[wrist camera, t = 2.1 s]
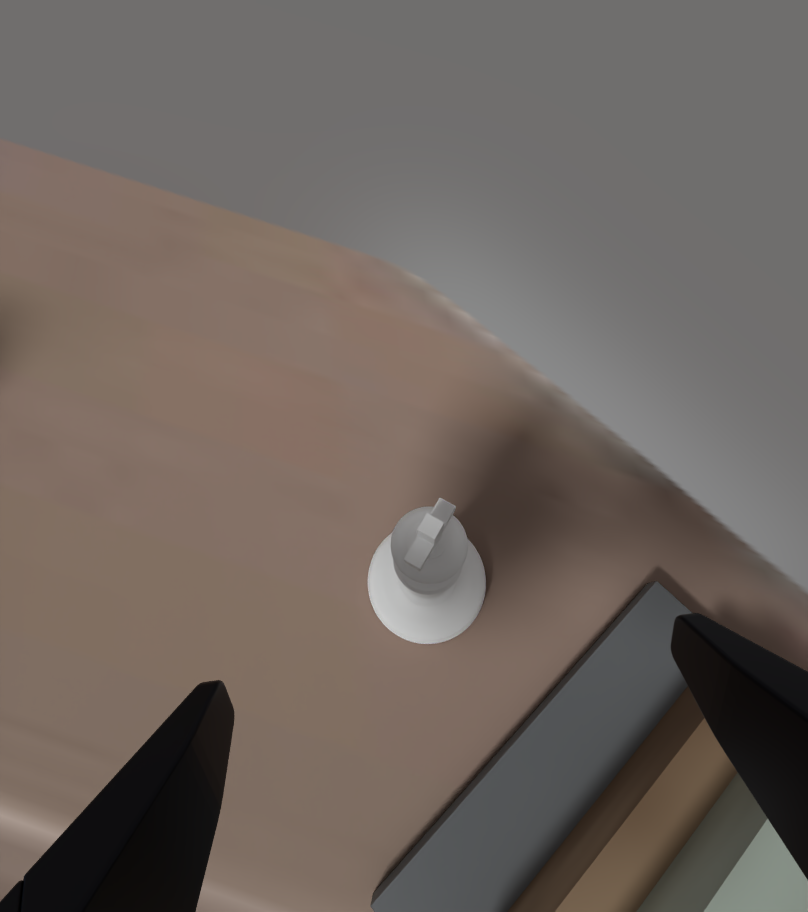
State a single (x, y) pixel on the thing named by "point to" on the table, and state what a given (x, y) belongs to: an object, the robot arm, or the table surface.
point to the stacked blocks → (672, 836)
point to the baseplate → (546, 771)
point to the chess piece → (427, 577)
